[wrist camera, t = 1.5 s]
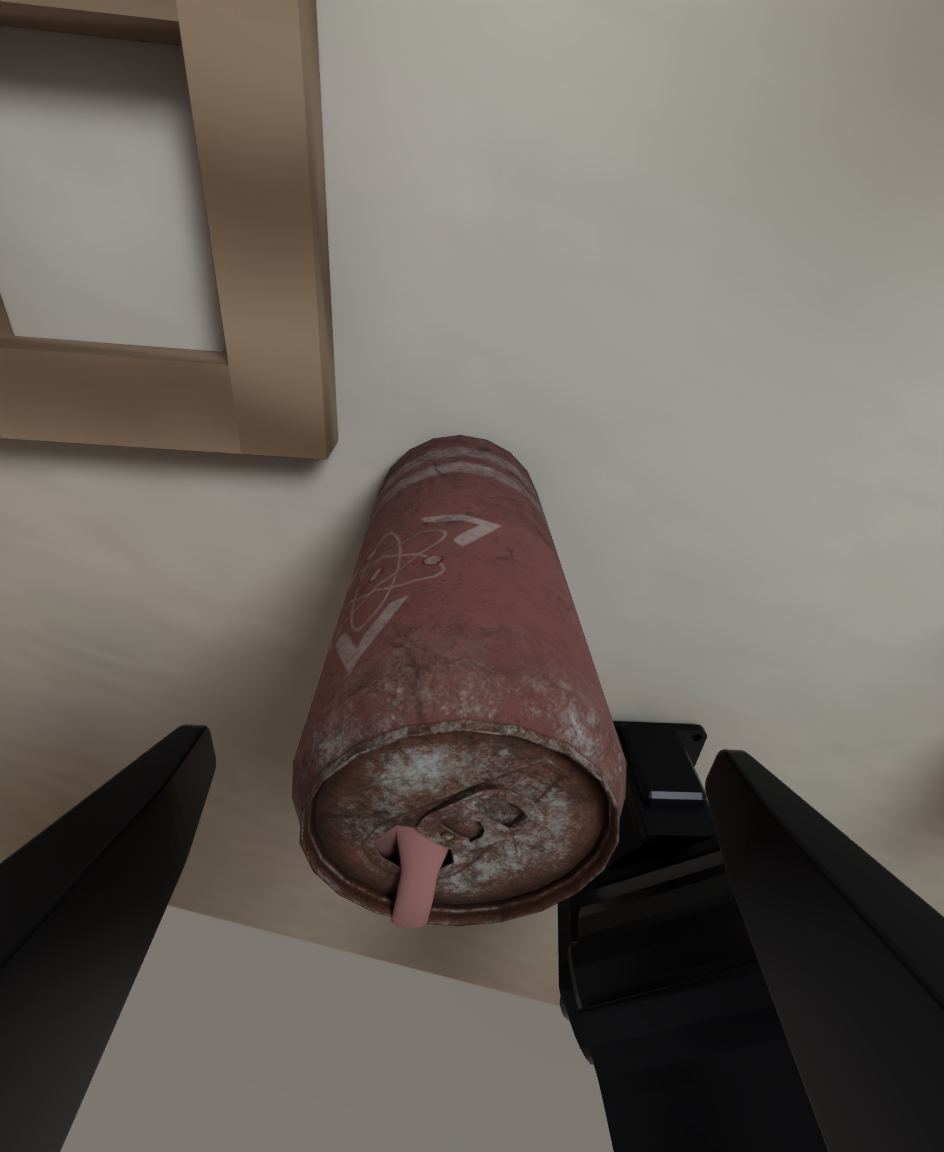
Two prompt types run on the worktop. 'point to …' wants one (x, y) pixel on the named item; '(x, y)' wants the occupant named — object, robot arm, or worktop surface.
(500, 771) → the can
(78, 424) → the socket block
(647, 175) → the worktop surface
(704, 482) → the worktop surface
